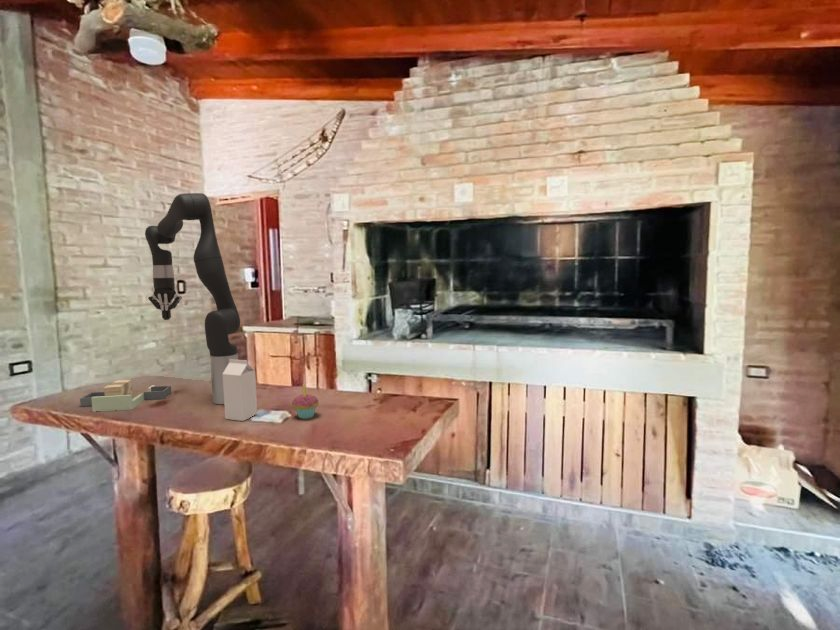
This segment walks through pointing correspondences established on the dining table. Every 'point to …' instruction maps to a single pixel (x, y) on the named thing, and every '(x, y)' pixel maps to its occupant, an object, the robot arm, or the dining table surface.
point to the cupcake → (305, 405)
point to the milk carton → (239, 390)
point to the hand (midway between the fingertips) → (166, 319)
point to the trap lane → (123, 399)
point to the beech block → (119, 388)
